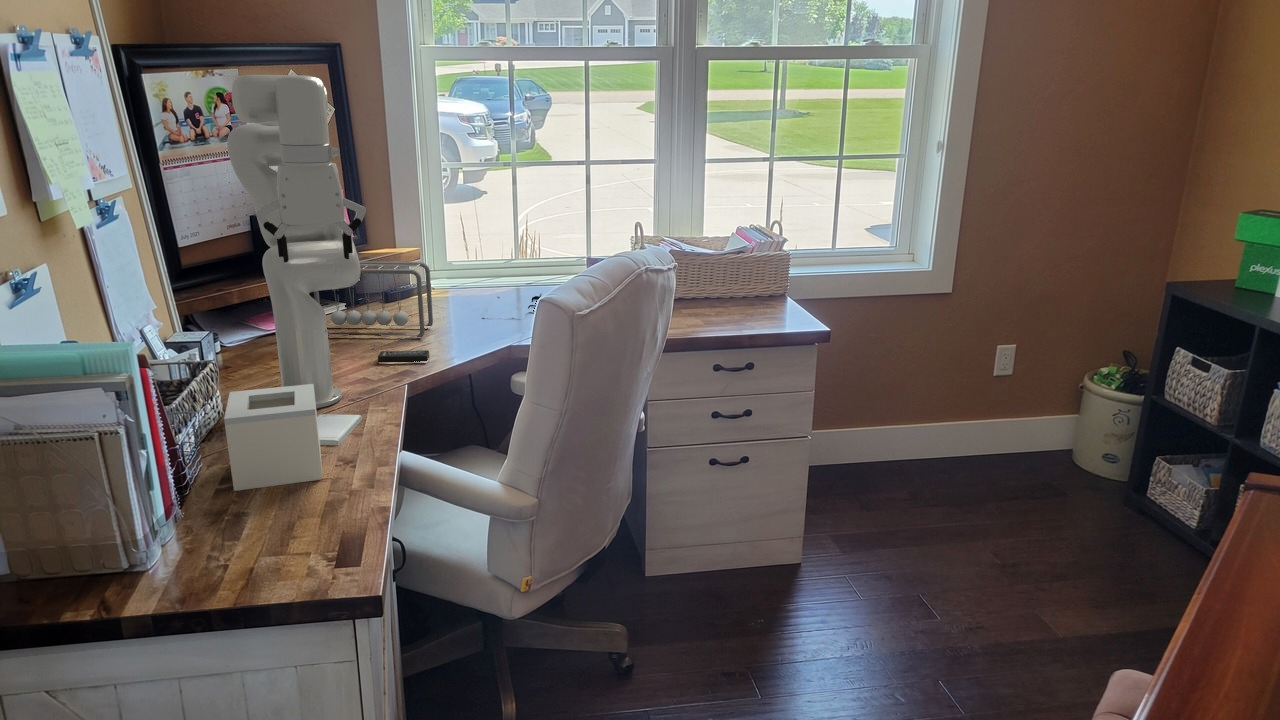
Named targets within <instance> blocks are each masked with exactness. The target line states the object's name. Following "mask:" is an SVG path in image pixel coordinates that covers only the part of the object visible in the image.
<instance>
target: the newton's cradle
mask: <svg viewBox="0 0 1280 720" xmlns="http://www.w3.org/2000/svg"><path fill="white" fill-rule="evenodd" d="M359 262H360V267H363V268H360V274H361V275H362V281H363V282H362V283H363V289H364V290H366V285H365V279H364V274H367V275H369V274H377V278H378V280H380V276H379V274H380V275H382V288H383V289H381V288H379V292H380V299H381V305H382V310H381V311H379V312H378V313H377V315H376V313H375V311H372V310H370V295H369V294H370V292H369V291H370V290H369V289H370V288H369V283H370V282H367V293H366V291H364V295H365V301H366V308H367V310H365V311H364V312H363V313H362V314H361V312H359V311H357V310H355V298H354V297H355V296H354V290H352V295H351V286H350V287H348V289H349V298H350V303H351V305H352V306H351V310H350V311H348V312H347V314H346V312H344V311H342V310H340V308H339V307H340V304H339V296H337V295H336V289H333V293H334V299H335V305H336V306H335V307H336V310H334V312H332V313H331V315H330V320H331V322H332V323H333V325H345V323H346V322H347V324H348V325H360V324H361V322H362V324H363V325H375V324H376V322H377V323H378V325H386V326H390V325H391V326H420V330H419V332H420V333H419V332H418V333H419V334H418V333H417V334H418V335H417V334H380V335H381V336H417V337H421V338H423V337H424V335H425V332H426V330H425V328H424V326H431V327H432V326H433V324H434V316H433V300H432V299H433V298H432V286H431V285H432V283H431V281H432V280H431V270H430V267H429V266H428V265H427V264H426V263H425V262H421V261H361V260H359ZM369 267H379V268H369ZM382 267H394V268H382ZM400 267H413V268H407V269H406V268H400ZM418 267H420V268H421V267H422V268H423V269H424V271H425V272H424V273H425V286H426V302H427V303H426V304H427V316H428V317H427V318H428V321H427V322H428V323H427V324H425V317H424V316H425V315H424V302H423V301H424V300H423V285H422V283H423V282H422V276H421V274H420V273H419V272H418V271H417V270H416V269H418ZM384 274H385V275H386V274H387V275H391V274H392V275H398V276H397V277H398V278H400V275H405V274H406V275H413V276H415V278H416V290H417V291H416V292H417V304H418V306H417V307H418V318H419V319H418V320H419V325H418V324H414V325H411V324H407V323H408V322H409V319H410V318H409V314H408V313H407V312H405V311H403V310H402V307H401V303H400V300H399V298H401V288H400V287H401V286H400V283H398V289H397V284H396V278H395V276H393V279H394V286H395V292H396V299H397V305H398V311H396V312H395V313H394V315H392V313H390V312H389V311H387V310H385V309H384V303H385V285H384V284H385V283H384V282H385V281H384V280H385V279H384V277H385V276H384ZM378 284H379V285H378V286H379V287H381V283H380V281H378ZM381 290H382V291H381ZM382 292H383V293H382ZM398 294H399V296H398ZM336 296H337V297H336ZM313 299H314V300H315V301H317V302H318V303H319V304H320V302H321V301H320V293H319V291H314V292H313ZM320 305H321V304H320ZM392 321H393V322H394V323H395V324H391V322H392ZM328 335H338V336H339V335H348V334H344V333H343V334H333V333H332V334H329V333H328Z"/></svg>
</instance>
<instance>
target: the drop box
mask: <svg viewBox="0 0 1280 720" xmlns="http://www.w3.org/2000/svg"><path fill="white" fill-rule="evenodd" d="M228 394H229V395H228V399H227V404H226V408H225V412H224V417H223V420H224V421H223V422H224V428H225V435H226V437H225V438H226V442H227V451H228V455H229V457H228V458H229V465H230V471H231V480H232V486H233V492H236V491H243V490H244V491H245V490H252V489H259V488H267V487H275V486H283V485H290V484H296V483H305V482H312V481H318V480H319V481H321V480H323V467H322V465H323V464H322V452H321V445H320V440H319V430H318V421H317V416H318V413H317V409H316V402H315V392H314V384H307V385H296V386H286V387H282V386H277V387H267V388H257V389H247V390H246V389H245V390H236V391H229V393H228Z"/></svg>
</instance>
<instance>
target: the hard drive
mask: <svg viewBox="0 0 1280 720" xmlns="http://www.w3.org/2000/svg"><path fill="white" fill-rule="evenodd" d="M362 418H363V417H362V415H360V414H331V413H330V414H329V413H328V414H327V413H325V414H322V413H321V414H319V415H318V414H317V421H318V430H319V440H320V446H339V445H340V444H342V442H343V441H345V439H346V438H347V437H348V436H349V435H350V433H352V432H353V431H354V429H355V428H356V427H357V426H358V425H359V423H361V422H362V420H363V419H362Z"/></svg>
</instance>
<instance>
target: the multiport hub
mask: <svg viewBox="0 0 1280 720" xmlns="http://www.w3.org/2000/svg"><path fill="white" fill-rule="evenodd" d="M428 358H430V350H382V351H380V352H379V353H378V355H377V363H378V362H414V361H415V362H416V361H417V362H418V361H419V362H420V361H427V360H428Z"/></svg>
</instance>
